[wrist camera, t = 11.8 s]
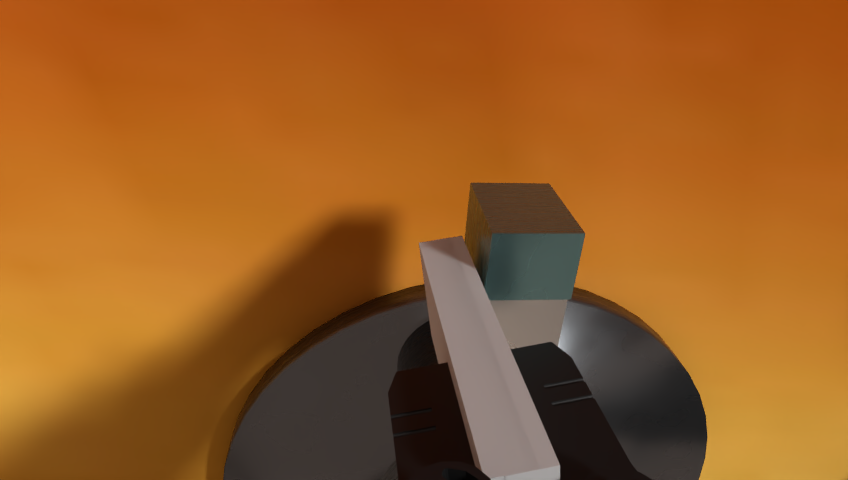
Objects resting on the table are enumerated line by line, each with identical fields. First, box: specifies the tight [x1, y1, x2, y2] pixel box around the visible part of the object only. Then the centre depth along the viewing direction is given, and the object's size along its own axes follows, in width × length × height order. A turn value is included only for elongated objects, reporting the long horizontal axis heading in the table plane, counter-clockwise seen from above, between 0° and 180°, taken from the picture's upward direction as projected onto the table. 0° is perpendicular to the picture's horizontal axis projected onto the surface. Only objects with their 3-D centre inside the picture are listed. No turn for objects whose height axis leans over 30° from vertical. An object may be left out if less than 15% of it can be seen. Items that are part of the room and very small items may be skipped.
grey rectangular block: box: [397, 183, 585, 371], centre depth 16 cm, size 10×4×6 cm, turn 177°
